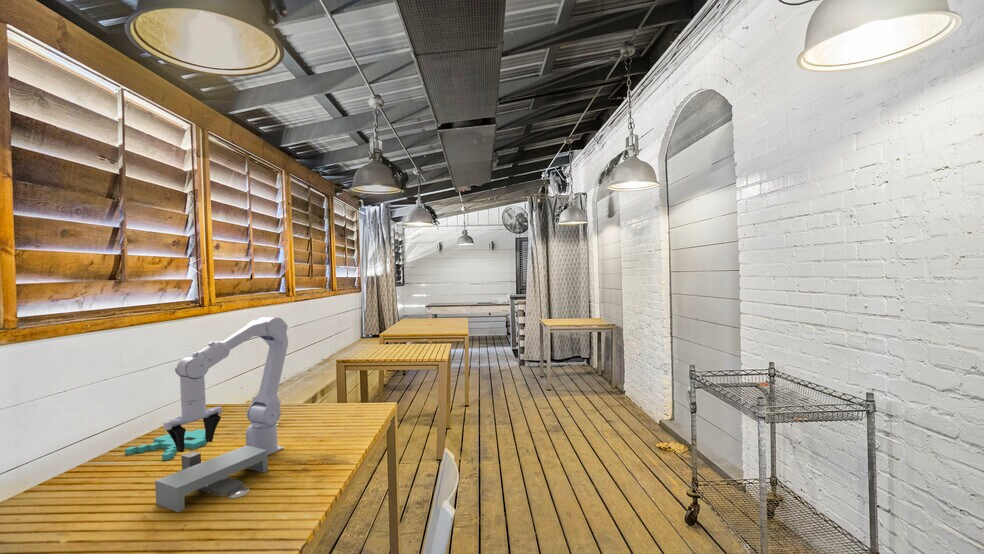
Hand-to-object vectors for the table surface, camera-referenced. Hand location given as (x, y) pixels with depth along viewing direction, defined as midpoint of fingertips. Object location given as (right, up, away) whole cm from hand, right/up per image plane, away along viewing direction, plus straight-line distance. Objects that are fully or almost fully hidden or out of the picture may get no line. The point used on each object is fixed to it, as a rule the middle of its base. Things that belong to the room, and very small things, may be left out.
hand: (195, 446), depth 121 cm
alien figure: (-25, -11, +27) cm, 39 cm away
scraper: (+6, -9, -4) cm, 12 cm away
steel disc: (+18, -9, -9) cm, 22 cm away
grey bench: (+9, -9, -5) cm, 14 cm away
